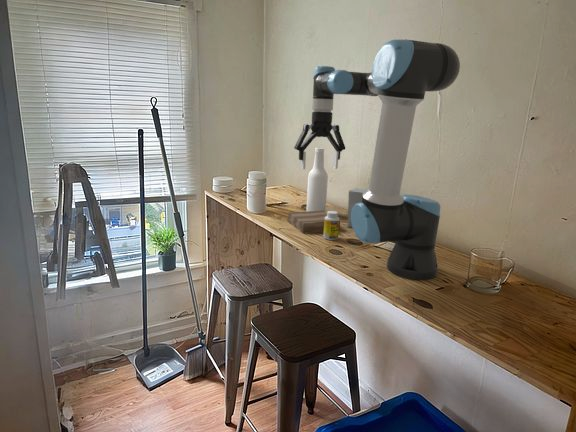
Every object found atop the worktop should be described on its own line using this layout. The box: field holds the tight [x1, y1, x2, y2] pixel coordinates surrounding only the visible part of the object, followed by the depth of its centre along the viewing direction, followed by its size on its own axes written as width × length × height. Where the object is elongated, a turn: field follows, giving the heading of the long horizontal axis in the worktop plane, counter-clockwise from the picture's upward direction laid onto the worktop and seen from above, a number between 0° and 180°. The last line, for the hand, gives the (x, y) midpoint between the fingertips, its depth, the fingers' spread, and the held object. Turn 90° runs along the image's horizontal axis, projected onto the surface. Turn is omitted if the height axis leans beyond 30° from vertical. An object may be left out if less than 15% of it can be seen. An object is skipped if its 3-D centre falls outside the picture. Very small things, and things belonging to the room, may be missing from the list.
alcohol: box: [305, 147, 329, 212], centre depth 180 cm, size 9×9×30 cm
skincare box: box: [347, 187, 368, 229], centre depth 165 cm, size 8×7×16 cm
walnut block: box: [287, 211, 341, 234], centre depth 166 cm, size 16×16×4 cm
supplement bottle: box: [322, 210, 340, 241], centre depth 150 cm, size 6×6×10 cm
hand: (319, 168), depth 154 cm, fingers open, 13 cm apart
